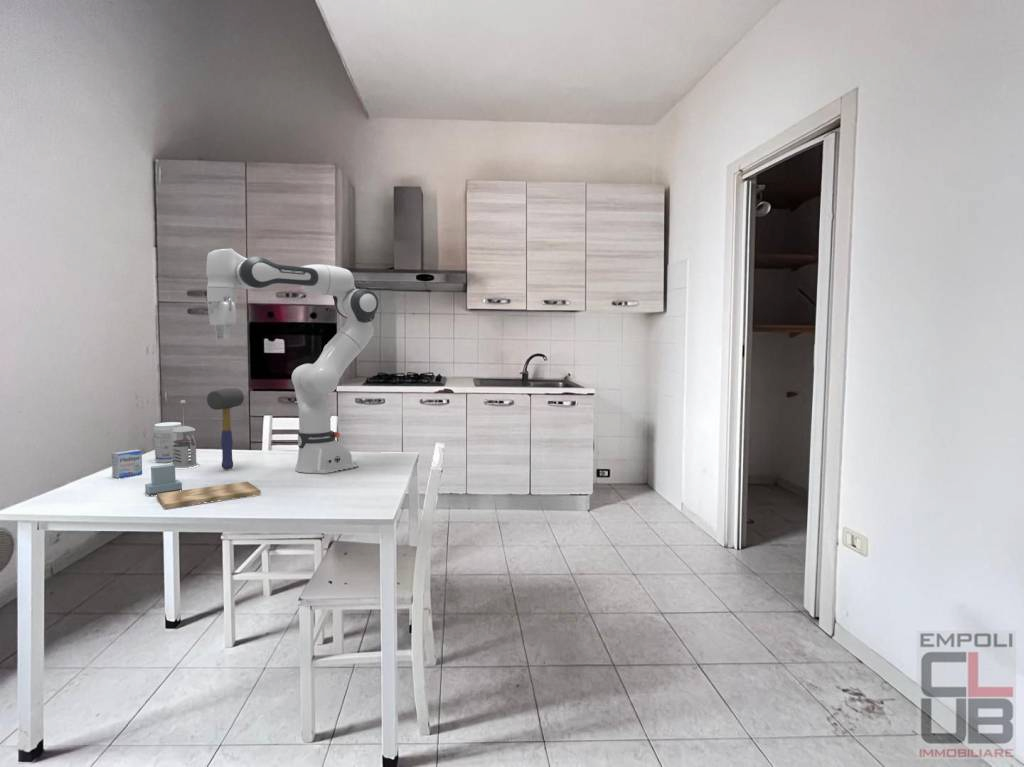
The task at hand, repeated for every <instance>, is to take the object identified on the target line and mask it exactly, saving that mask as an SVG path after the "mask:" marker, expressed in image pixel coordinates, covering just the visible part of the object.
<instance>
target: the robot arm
mask: <svg viewBox="0 0 1024 767" xmlns="http://www.w3.org/2000/svg"><path fill="white" fill-rule="evenodd" d="M206 277H207V285H206V297H205V303H206V304H207V312H208V319H209V324H210V325H211V326H214V331H215V337H216V340H222V339H224V340H230V339H231V333H232V326H236V325H237V308H236V304H237V303H238V301H237V300H238V298H237V297H238V296H237V295H238V294H237V287H238V288H242V289H246V290H252V289H261V288H267V287H269V286H271V285H276V284H280V285H292V286H293V285H294V286H297V287H298V286H299V287H301V289H302V290H303V291H304V292H305V293H308V294H313V295H319V296H320V295H321V296H332V299H333V301H334V302H333V304H334V308H335V311H336V313H337V314H338V315H339V316H341V317H343V318H346V322H345V324H344V326H343V327H342V328H341V329H339V330H338V331H337V332H336V334H334V336H333V337H332V338H331V339H330V340H329V341H328V342H327V344H325V345H324V347H323V349H322V352H321V354H320V355H319V357H318V358H317V360H316V361H315V362H314V363H304V364H301V365H299V366H297V367H295V369H294V370H293V371H292V374H291V382H292V385H293V388H294V392H295V397H296V398H295V399H296V402H297V408H298V432H297V446H298V455H297V461H296V464H295V471H296V472H298V473H304V474H306V473H307V474H308V473H309V474H329V472H330V473H335V472H334V471H336V472H339V471H338V470H341V471H344V470H343V469H346V470H349V469H348V468H351V469H354V468H353V467H356V468H358V467H359V464H358V462H357V461H355V460H353V459H352V453H351V451H350V449H349V448H347V447H346V446H344V445H343V444H341V443H340V442H339V441H337V440H336V438H337V439H338V438H339V439H340V437H341V433H340V431H339V432H338V431H333V430H331V428H332V427H331V422H332V421H331V408H330V406H329V403H328V401H327V400H328V399H327V397H326V395H329V394H332V393H333V392H335V390H336V389H338V386H339V382H340V379H341V377H342V376H343V374H344V372H345V370H346V369H347V368H348V367H349V365H351V363H352V362H353V361H354V360H355V359H356V357H357V356H358V355H359V354H360V353H361V352H362V351H363V350H364V349H365V347H366V346H367V345H368V343H369V342H370V340H371V339H372V338H373V336H374V334H375V328H374V326H373V323H372V321H373V320H375V316H376V313H377V311H378V308H379V303H380V302H379V299H378V296H377V294H375V292H373V291H372V290H370V289H367V288H357V287H356V285H355V278H354V275H353V273H352V272H351V271H350V270H349V269H347V268H344V267H341V266H335V265H332V264H322V263H321V264H320V263H319V264H318V263H317V264H306V265H302V266H295V265H294V266H293V265H285V264H278V263H274V262H272V261H270V260H268V259H266V258H264V257H262V256H251V257H248V258H247V257H245V256H243V255H241V254H239V253H238V252H236V251H235V250H234V249H233V248H231V247H218V248H214V249H211V250H210V251H209V252H208V253H207V257H206ZM357 466H358V467H357Z"/></svg>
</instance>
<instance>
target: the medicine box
mask: <svg viewBox="0 0 1024 767" xmlns="http://www.w3.org/2000/svg"><path fill="white" fill-rule="evenodd" d="M142 451H143V450H140V449H130V450H122V451H116V452H111V469H112V470H111V472H112V473H111V474H112V477H113V478H116V479H119V478H120V479H125V477H126V478H131V477H135V475H137V476H141V475H140V474H142V475H143V453H142ZM130 476H131V477H130Z"/></svg>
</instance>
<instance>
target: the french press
mask: <svg viewBox="0 0 1024 767" xmlns="http://www.w3.org/2000/svg"><path fill="white" fill-rule="evenodd" d="M179 403H180V404H182V405H185V404H187V401H186V400H185V399H181V400H180V401H179ZM184 416H185V412H184V407H182V424H183V425H182V426H180V427H177V428H175V429H173V430H172V431H171V432H172V433H182V434H186V433H187V434H189V433H193V432H195V431H196V430H197V429H196V428H194V427H193V426H187V425H185V417H184ZM192 438H193V439H192ZM174 443H176V444H175V445H173V446H172V451H173V461H175V462H173V463H172V464H173V465H175V468H189V467H194V466H197V465H199V466H200V463H198V462H197V443H196V440H195V437H194V435H193V434H191V435H190V436H188V435H186V439H185V438H183V440H176V441H174ZM174 450H175V451H174ZM174 454H175V455H174ZM174 457H175V458H174Z"/></svg>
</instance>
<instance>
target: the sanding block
mask: <svg viewBox="0 0 1024 767" xmlns="http://www.w3.org/2000/svg"><path fill="white" fill-rule="evenodd" d="M150 475H151V476H150V478H151V481H150V483H145V484H144V489H145V491H144V492H145V494H146V493H147V494H148V495H149V496H148V495H147V494H146V495H147V496H148V497H152V496H151V495H157V494H159V493H166V492H174V491H180V490H183V482H182V481H180V480H179V479H176V469H175V465H173V463H167V464H161V465H160V464H159V465H153V466H150Z"/></svg>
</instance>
